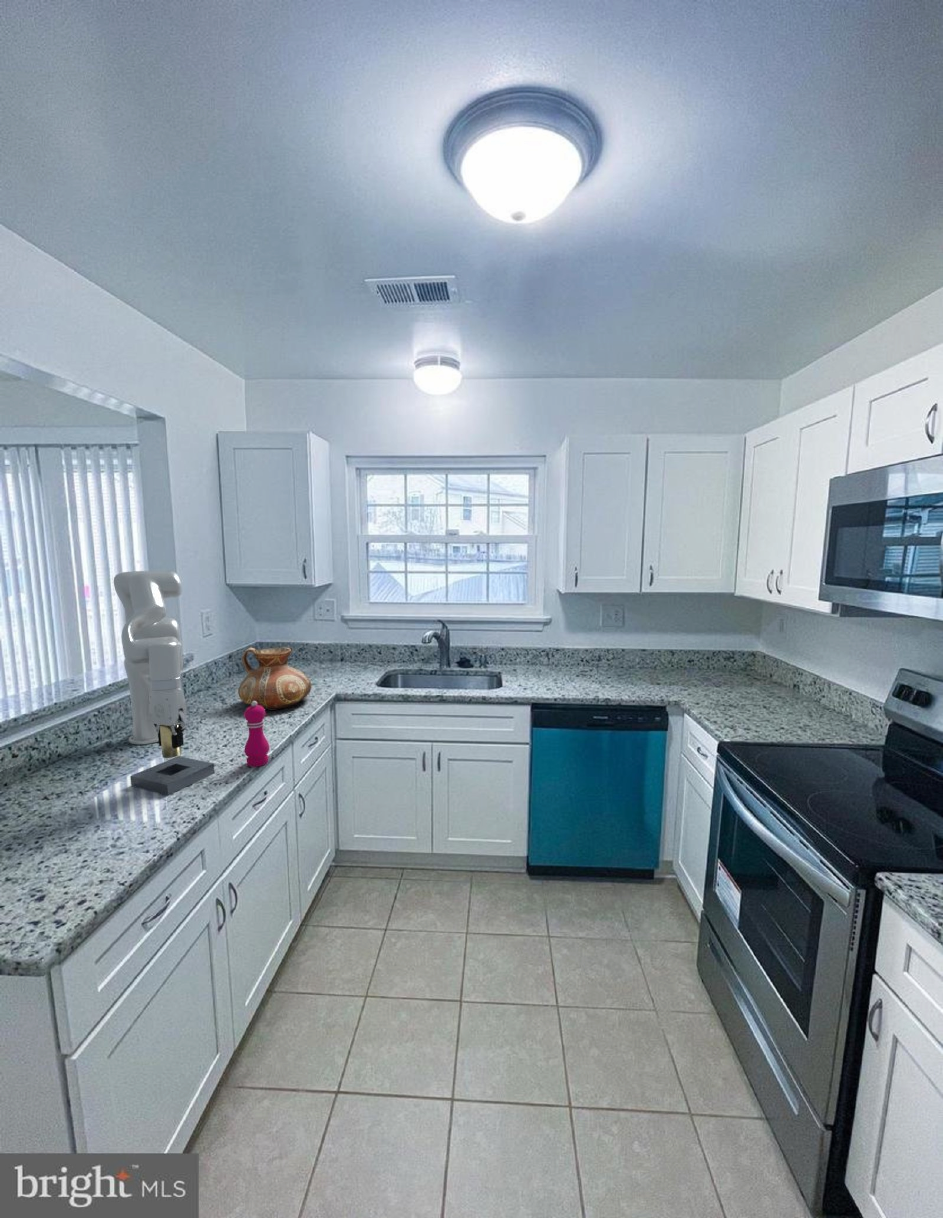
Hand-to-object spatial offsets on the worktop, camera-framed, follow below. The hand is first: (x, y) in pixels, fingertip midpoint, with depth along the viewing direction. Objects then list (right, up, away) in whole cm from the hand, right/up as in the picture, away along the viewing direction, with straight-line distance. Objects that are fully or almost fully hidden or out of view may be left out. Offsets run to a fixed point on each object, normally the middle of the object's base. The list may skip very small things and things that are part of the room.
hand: (171, 744), depth 148 cm
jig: (0, -10, +1) cm, 10 cm away
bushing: (0, -3, 0) cm, 3 cm away
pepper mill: (+20, -9, +13) cm, 25 cm away
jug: (+3, -2, +74) cm, 74 cm away
